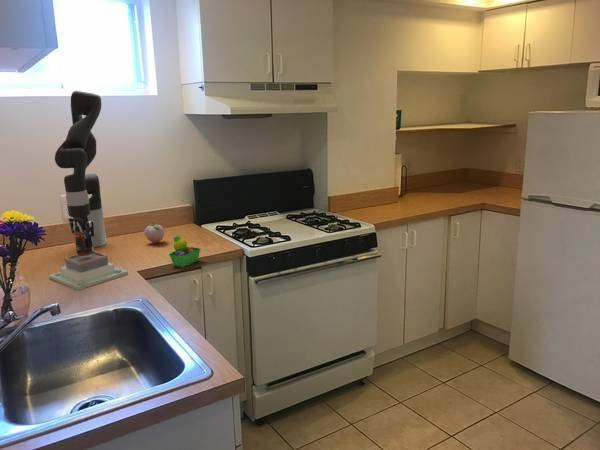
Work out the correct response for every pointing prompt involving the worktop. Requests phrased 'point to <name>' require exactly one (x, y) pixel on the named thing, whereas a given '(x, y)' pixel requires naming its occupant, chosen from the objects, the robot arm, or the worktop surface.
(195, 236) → the worktop surface
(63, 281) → the stacked grey pedestal
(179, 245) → the fruit basket
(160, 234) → the decorative fruit
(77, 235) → the supplement bottle
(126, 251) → the worktop surface
